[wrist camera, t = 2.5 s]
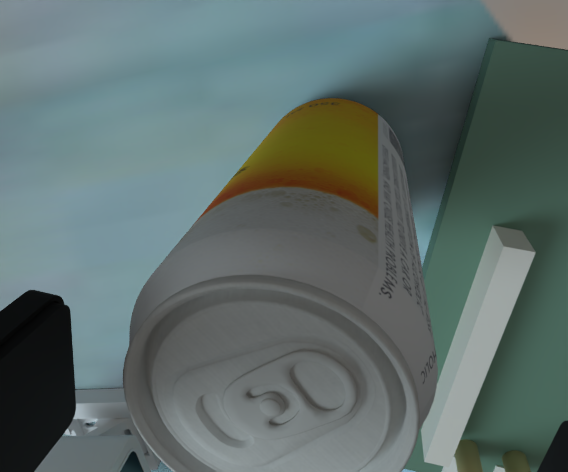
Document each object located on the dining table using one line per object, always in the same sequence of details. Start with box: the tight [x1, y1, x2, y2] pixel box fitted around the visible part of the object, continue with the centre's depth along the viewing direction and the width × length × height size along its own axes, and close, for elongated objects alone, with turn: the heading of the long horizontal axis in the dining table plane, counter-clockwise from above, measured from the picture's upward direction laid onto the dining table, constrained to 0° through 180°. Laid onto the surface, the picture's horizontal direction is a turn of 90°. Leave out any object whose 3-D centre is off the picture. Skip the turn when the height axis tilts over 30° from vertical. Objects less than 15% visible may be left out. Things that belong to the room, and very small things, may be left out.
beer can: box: [123, 98, 438, 472], centre depth 15 cm, size 6×6×15 cm
